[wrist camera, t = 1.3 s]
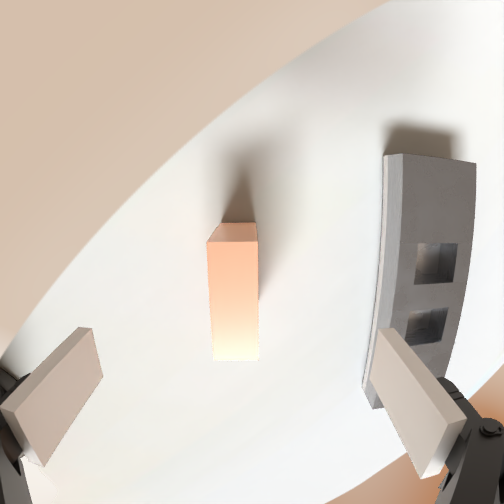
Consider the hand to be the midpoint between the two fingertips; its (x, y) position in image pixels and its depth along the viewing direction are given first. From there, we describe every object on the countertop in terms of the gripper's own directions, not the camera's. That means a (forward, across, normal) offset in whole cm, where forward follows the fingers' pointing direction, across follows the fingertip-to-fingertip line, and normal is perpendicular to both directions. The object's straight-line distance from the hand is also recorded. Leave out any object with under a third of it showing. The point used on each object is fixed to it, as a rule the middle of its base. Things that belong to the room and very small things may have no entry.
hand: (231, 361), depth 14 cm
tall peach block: (+16, 0, 0) cm, 16 cm away
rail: (+16, +17, -2) cm, 23 cm away
